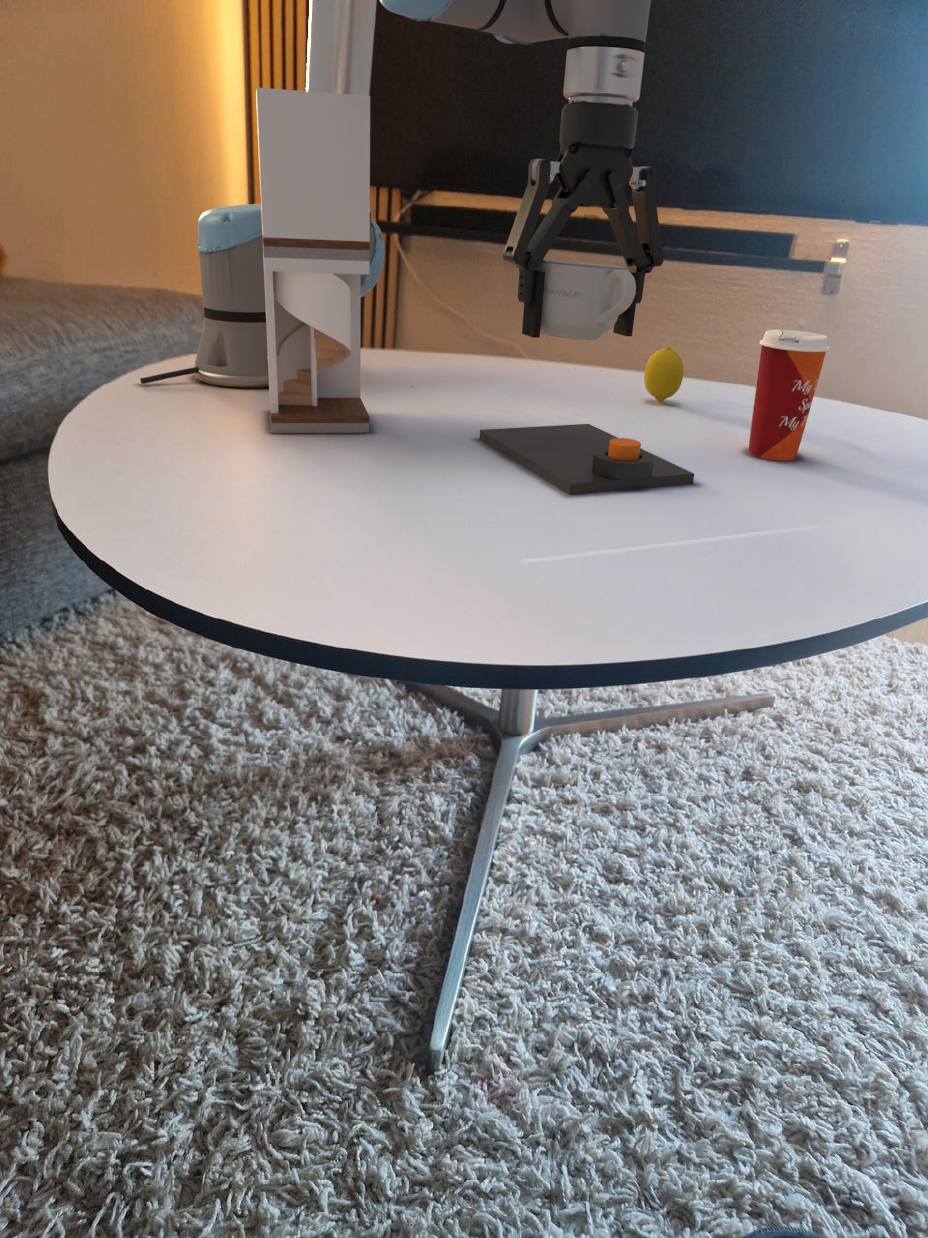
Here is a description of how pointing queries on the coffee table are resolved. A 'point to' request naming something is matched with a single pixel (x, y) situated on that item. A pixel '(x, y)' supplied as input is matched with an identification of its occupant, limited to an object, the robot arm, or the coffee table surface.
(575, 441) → the scale
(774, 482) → the coffee table surface
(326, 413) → the spiral staircase model
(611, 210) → the robot arm
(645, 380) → the lemon
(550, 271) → the teacup
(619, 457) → the button
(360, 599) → the coffee table surface
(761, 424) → the paper cup
